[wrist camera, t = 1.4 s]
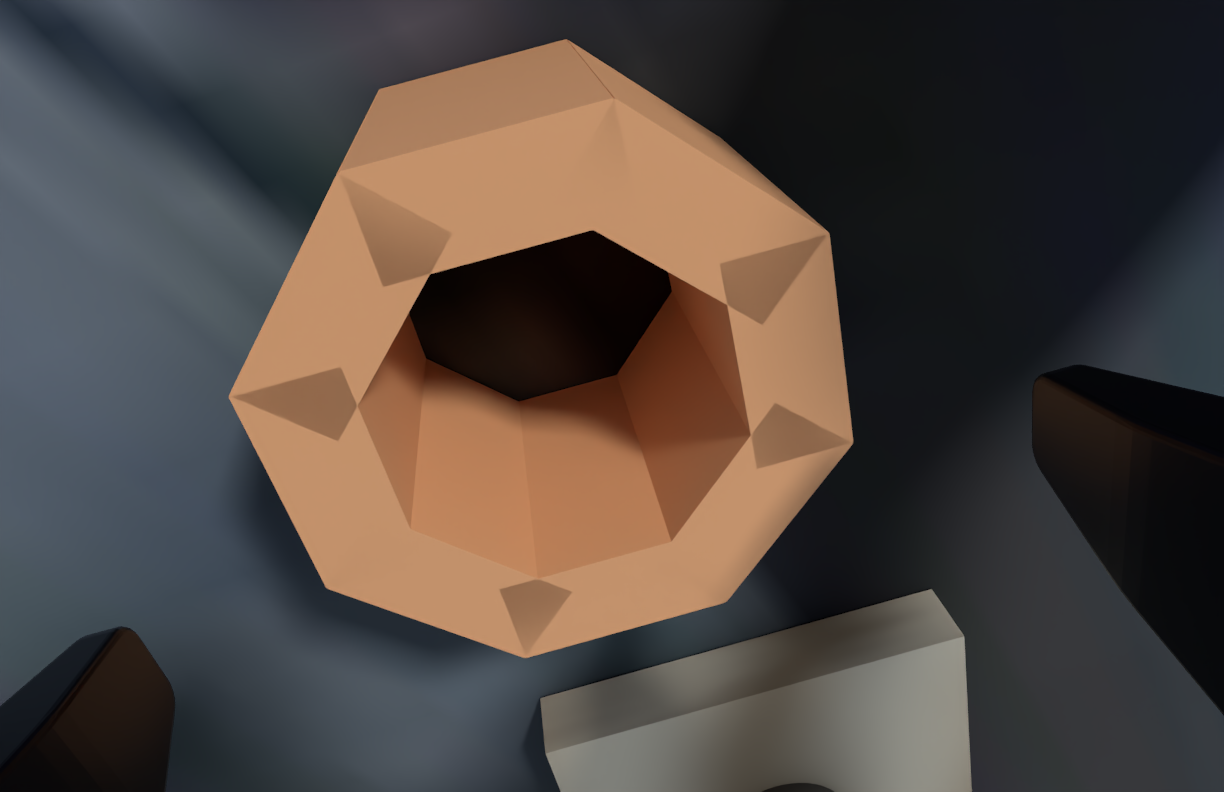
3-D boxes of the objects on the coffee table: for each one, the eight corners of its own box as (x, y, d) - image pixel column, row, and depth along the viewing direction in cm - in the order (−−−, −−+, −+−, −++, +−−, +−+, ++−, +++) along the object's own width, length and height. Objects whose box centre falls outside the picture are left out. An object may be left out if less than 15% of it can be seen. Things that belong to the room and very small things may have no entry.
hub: (698, 3, 14) (807, 45, 9) (764, 397, 17) (866, 563, 13) (245, 125, 14) (141, 224, 9) (404, 496, 17) (382, 697, 13)
